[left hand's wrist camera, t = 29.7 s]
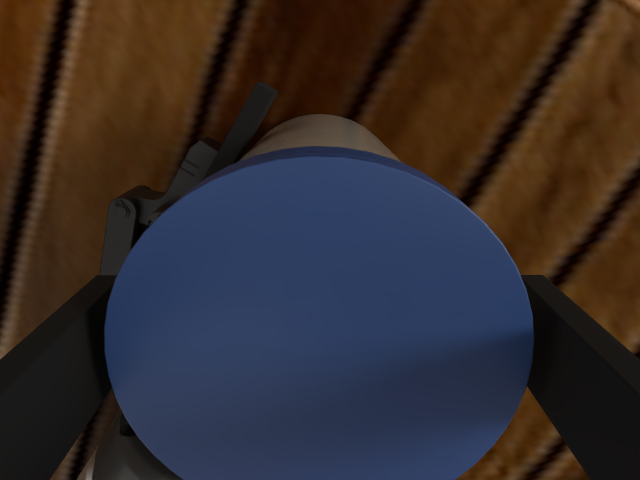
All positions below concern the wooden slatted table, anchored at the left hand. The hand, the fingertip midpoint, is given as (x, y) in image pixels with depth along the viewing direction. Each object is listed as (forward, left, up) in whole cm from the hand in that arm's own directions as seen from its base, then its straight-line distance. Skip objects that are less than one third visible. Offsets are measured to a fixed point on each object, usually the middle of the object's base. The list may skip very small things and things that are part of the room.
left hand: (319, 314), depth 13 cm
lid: (0, 0, +2) cm, 2 cm away
